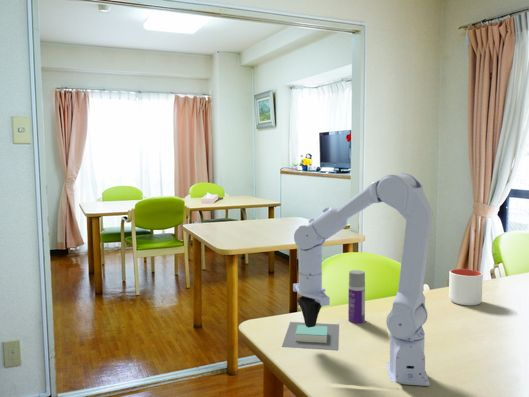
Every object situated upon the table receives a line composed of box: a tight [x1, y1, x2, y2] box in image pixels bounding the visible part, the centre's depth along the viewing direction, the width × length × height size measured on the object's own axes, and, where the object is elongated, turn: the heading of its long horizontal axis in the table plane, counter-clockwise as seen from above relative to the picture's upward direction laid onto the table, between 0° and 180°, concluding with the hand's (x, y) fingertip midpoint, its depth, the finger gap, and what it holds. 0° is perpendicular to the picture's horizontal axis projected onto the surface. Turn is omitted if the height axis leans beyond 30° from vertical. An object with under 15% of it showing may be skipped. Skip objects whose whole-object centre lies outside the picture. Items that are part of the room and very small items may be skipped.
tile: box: [295, 325, 327, 343], centre depth 120 cm, size 2×8×6 cm
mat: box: [281, 321, 340, 351], centre depth 122 cm, size 18×14×1 cm
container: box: [347, 269, 366, 324], centre depth 132 cm, size 5×5×15 cm
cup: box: [448, 268, 483, 307], centre depth 151 cm, size 10×10×10 cm
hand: (310, 326), depth 114 cm, fingers closed
